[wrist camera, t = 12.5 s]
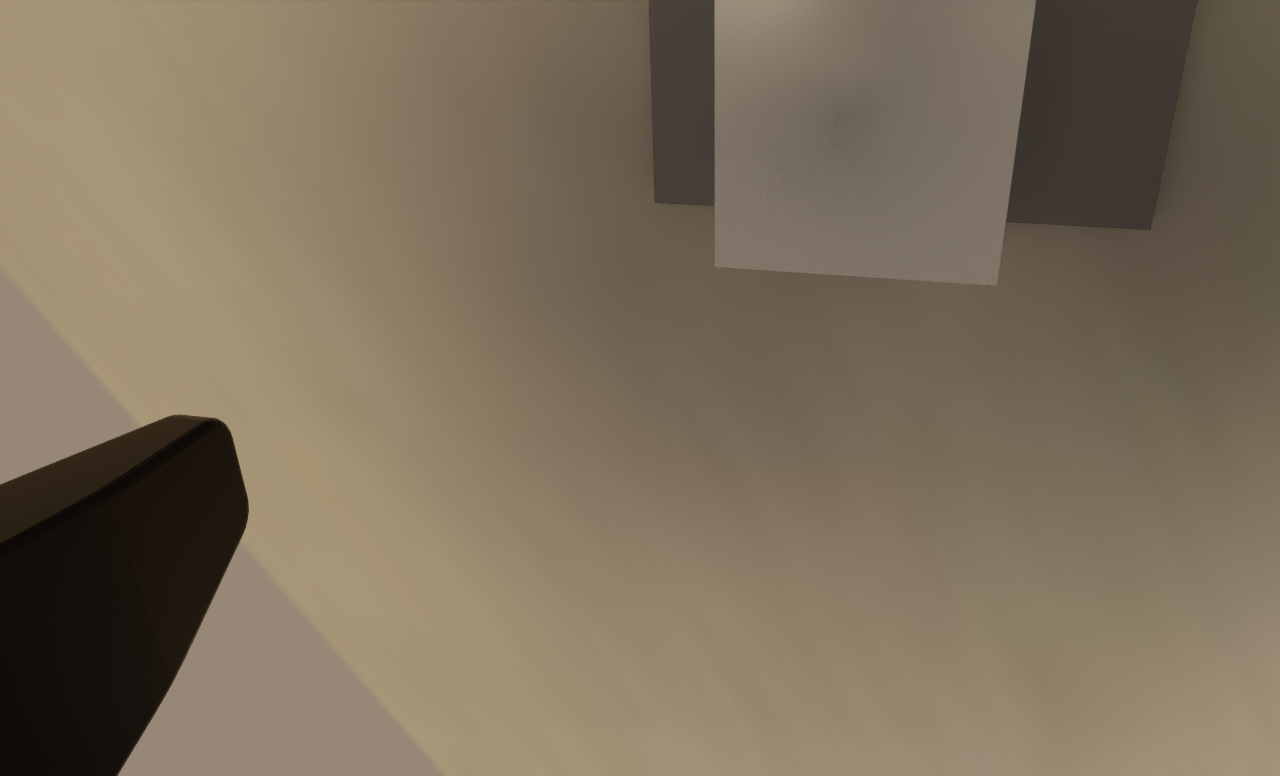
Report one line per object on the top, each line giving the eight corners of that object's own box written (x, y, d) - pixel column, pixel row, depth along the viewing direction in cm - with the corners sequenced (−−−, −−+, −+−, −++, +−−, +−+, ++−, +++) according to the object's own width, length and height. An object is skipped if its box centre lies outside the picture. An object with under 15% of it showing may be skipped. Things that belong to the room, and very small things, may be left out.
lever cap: (1027, -72, 17) (1039, -25, 14) (991, 203, 19) (997, 285, 17) (748, -74, 18) (713, -30, 15) (744, 191, 20) (714, 267, 17)
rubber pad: (1229, -195, 16) (1235, -192, 16) (1147, 219, 19) (1150, 229, 19) (649, -187, 18) (643, -183, 17) (659, 194, 21) (655, 202, 20)
